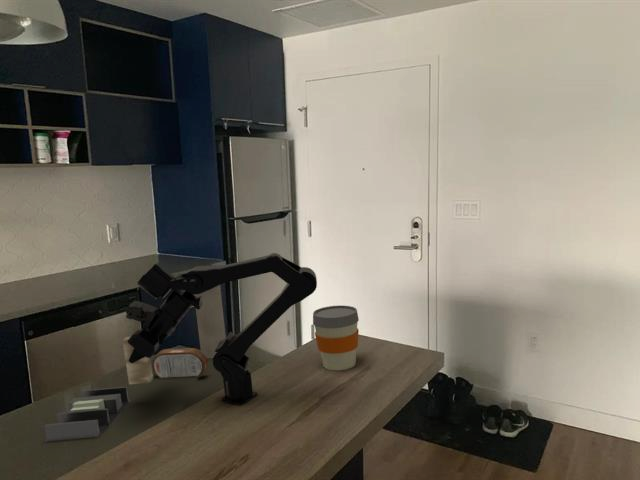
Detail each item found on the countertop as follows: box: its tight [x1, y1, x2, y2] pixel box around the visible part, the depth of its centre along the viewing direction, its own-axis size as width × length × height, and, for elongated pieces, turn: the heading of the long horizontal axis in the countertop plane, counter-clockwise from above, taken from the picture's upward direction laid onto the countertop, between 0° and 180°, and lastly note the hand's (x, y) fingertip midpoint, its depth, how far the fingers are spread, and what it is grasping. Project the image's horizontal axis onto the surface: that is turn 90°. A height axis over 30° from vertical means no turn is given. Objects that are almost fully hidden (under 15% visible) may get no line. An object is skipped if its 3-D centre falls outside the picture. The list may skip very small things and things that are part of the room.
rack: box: [43, 386, 131, 443], centre depth 114 cm, size 12×18×4 cm
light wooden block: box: [122, 335, 154, 385], centre depth 119 cm, size 5×2×11 cm, turn 91°
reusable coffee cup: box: [312, 305, 359, 371], centre depth 136 cm, size 12×13×15 cm
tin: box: [151, 347, 209, 379], centre depth 136 cm, size 15×3×8 cm, turn 84°
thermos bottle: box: [195, 263, 227, 359], centre depth 153 cm, size 8×8×28 cm
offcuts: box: [70, 399, 105, 412], centre depth 113 cm, size 6×4×4 cm, turn 91°
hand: (132, 359), depth 119 cm, fingers closed on light wooden block, 2 cm apart
